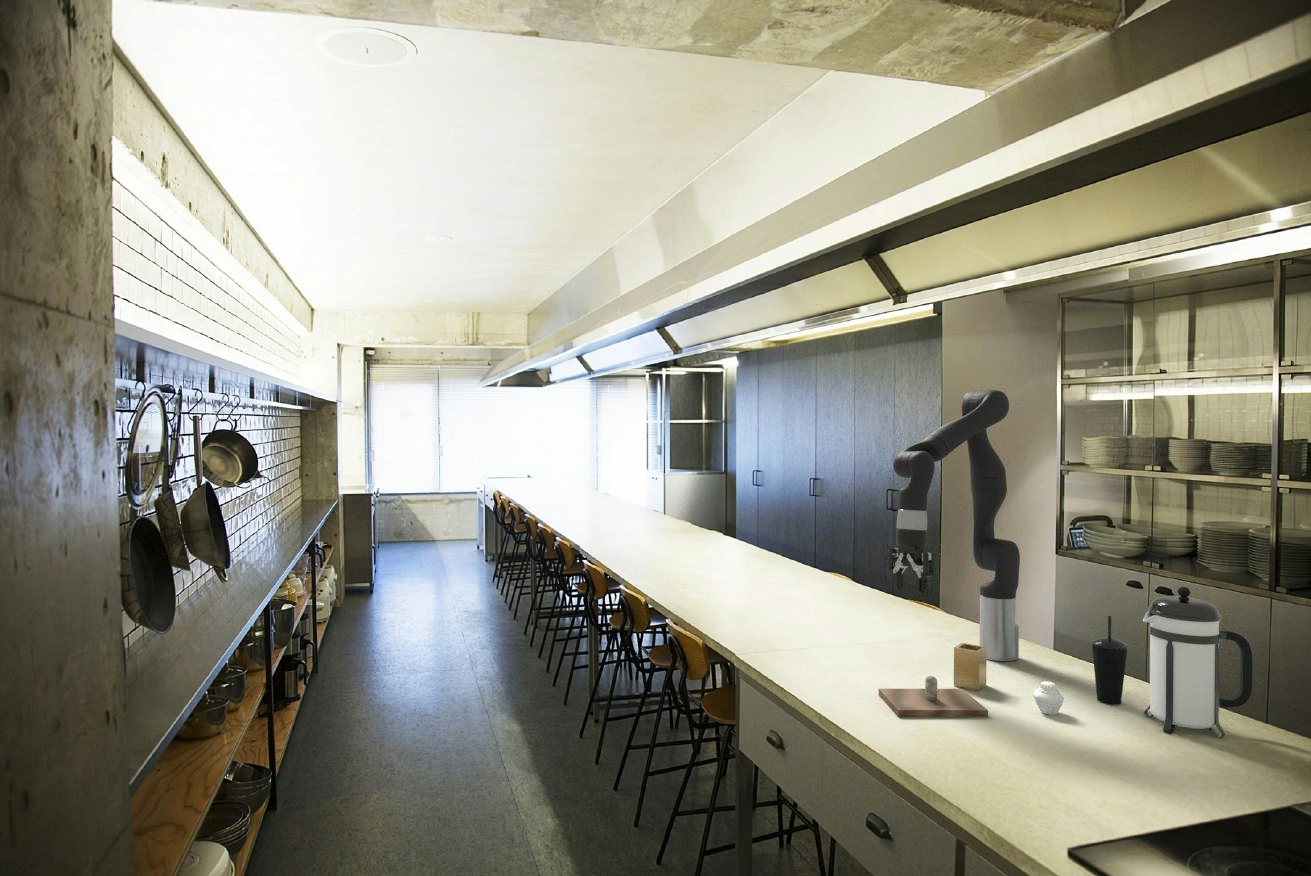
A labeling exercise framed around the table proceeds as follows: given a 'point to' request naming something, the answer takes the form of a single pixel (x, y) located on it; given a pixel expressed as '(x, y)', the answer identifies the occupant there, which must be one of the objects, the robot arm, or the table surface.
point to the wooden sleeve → (970, 666)
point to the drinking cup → (1109, 667)
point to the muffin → (1048, 698)
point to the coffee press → (1190, 663)
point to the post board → (932, 702)
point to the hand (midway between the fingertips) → (909, 590)
